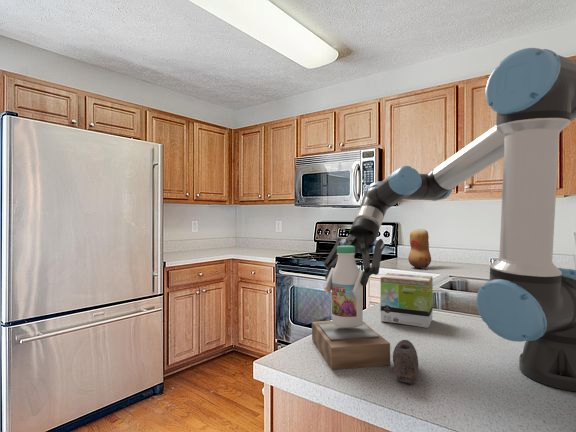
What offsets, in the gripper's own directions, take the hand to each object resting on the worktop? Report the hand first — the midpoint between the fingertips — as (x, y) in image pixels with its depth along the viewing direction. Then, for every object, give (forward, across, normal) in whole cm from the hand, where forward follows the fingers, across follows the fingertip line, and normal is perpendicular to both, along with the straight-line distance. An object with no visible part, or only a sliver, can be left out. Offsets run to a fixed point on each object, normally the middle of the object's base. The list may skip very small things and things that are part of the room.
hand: (340, 293), depth 89 cm
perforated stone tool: (+12, -16, -11) cm, 23 cm away
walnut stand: (+9, 0, -13) cm, 16 cm away
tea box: (-15, -4, -38) cm, 41 cm away
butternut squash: (-97, +25, -119) cm, 155 cm away
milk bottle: (+4, 0, -9) cm, 9 cm away
